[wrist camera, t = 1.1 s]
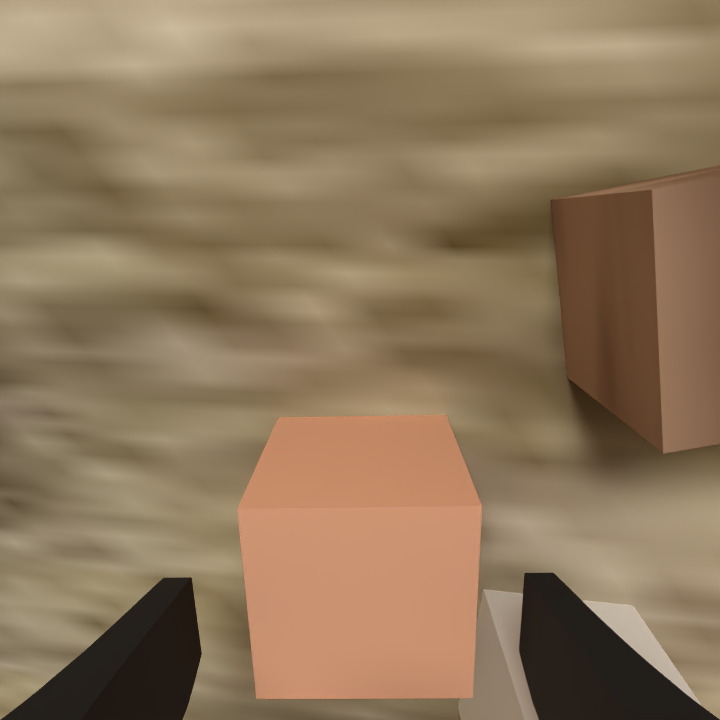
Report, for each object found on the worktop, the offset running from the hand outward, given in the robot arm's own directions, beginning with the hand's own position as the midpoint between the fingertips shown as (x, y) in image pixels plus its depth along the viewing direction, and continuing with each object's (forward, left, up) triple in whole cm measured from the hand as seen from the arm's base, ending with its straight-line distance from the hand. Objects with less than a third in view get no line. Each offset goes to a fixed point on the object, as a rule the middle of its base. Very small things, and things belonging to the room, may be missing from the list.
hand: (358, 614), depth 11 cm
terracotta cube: (0, 0, -5) cm, 5 cm away
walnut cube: (-8, -7, -5) cm, 12 cm away
